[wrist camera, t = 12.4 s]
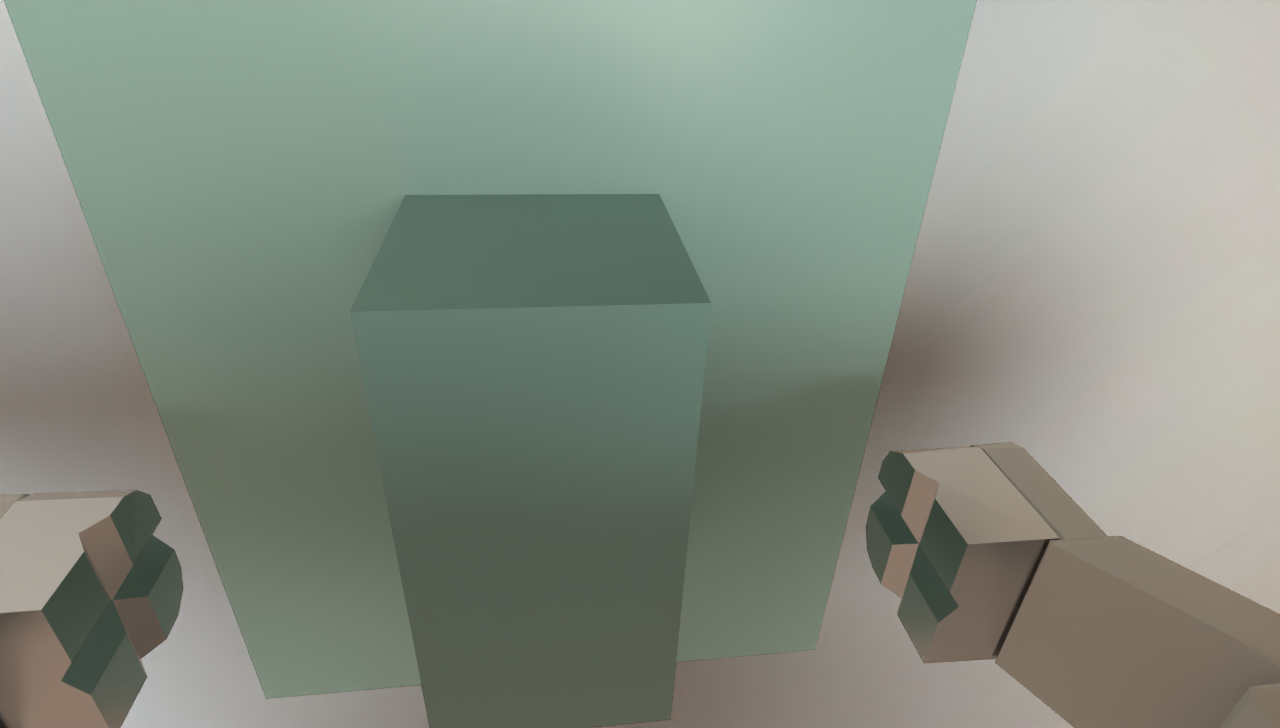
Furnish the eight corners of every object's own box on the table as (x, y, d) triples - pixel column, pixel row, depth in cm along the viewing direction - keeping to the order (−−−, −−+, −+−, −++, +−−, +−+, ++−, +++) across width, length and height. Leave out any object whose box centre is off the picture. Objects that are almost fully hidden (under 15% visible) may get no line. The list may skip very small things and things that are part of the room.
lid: (787, 578, 15) (878, 812, 11) (294, 614, 14) (198, 894, 10) (920, -82, 9) (1230, -89, 5) (65, -122, 8) (-431, -175, 4)
